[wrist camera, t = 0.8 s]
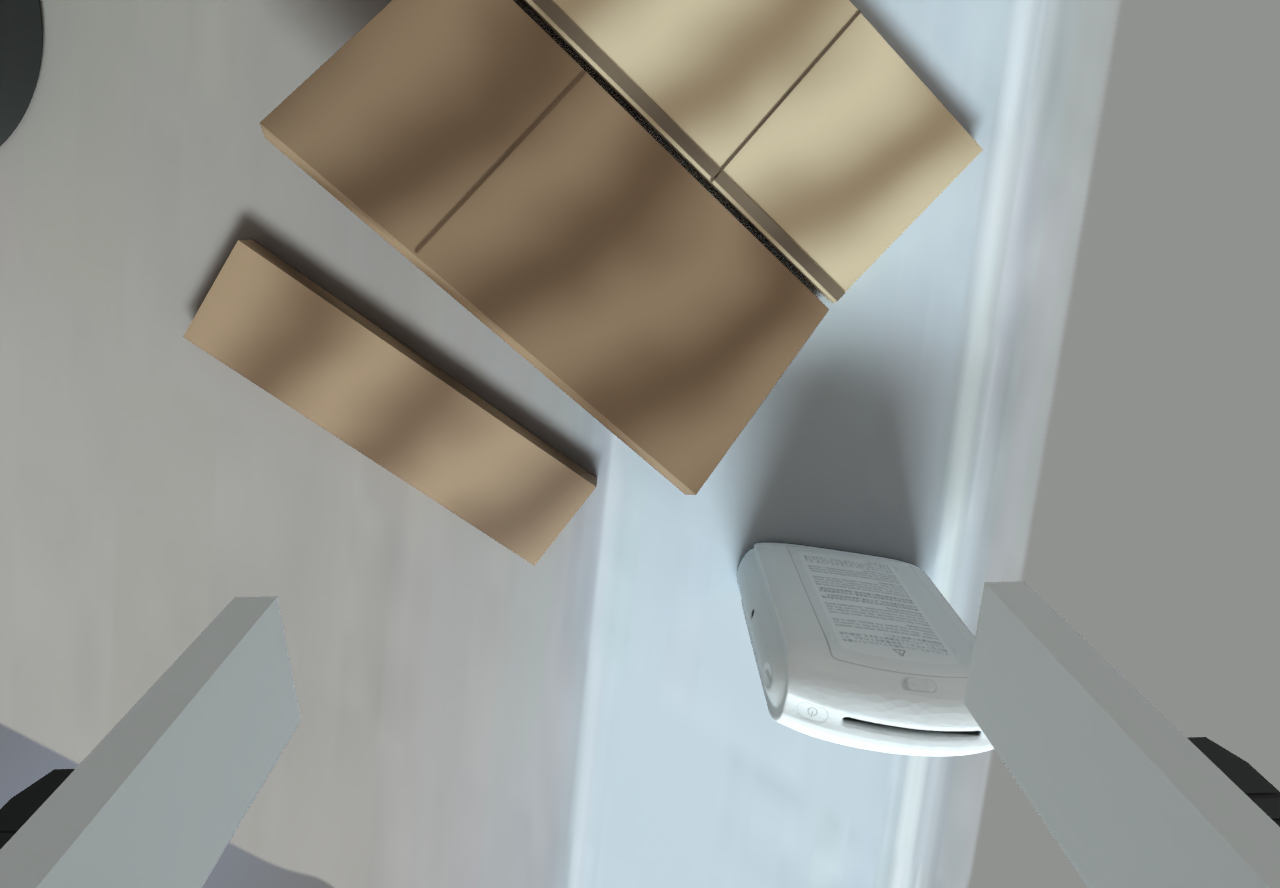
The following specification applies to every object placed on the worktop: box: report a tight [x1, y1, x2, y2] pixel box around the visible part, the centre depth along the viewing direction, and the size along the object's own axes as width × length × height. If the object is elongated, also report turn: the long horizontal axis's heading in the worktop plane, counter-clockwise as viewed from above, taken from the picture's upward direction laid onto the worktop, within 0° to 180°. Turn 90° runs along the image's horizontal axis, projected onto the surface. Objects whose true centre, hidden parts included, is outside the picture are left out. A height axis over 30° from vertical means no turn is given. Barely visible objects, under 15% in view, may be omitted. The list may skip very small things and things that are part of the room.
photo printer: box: [737, 543, 994, 756], centre depth 34 cm, size 10×4×12 cm, turn 81°
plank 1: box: [260, 0, 829, 495], centre depth 31 cm, size 22×11×1 cm, turn 48°
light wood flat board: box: [523, 0, 983, 303], centre depth 32 cm, size 22×9×1 cm, turn 48°
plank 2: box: [183, 239, 597, 566], centre depth 36 cm, size 20×6×1 cm, turn 53°
